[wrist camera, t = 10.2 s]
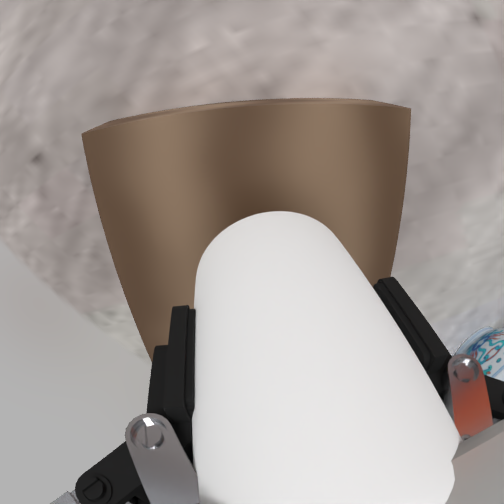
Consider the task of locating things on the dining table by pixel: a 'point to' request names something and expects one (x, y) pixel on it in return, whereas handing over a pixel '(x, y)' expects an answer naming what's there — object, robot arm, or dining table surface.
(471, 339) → the chinaware
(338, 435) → the can
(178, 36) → the dining table surface
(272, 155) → the base
